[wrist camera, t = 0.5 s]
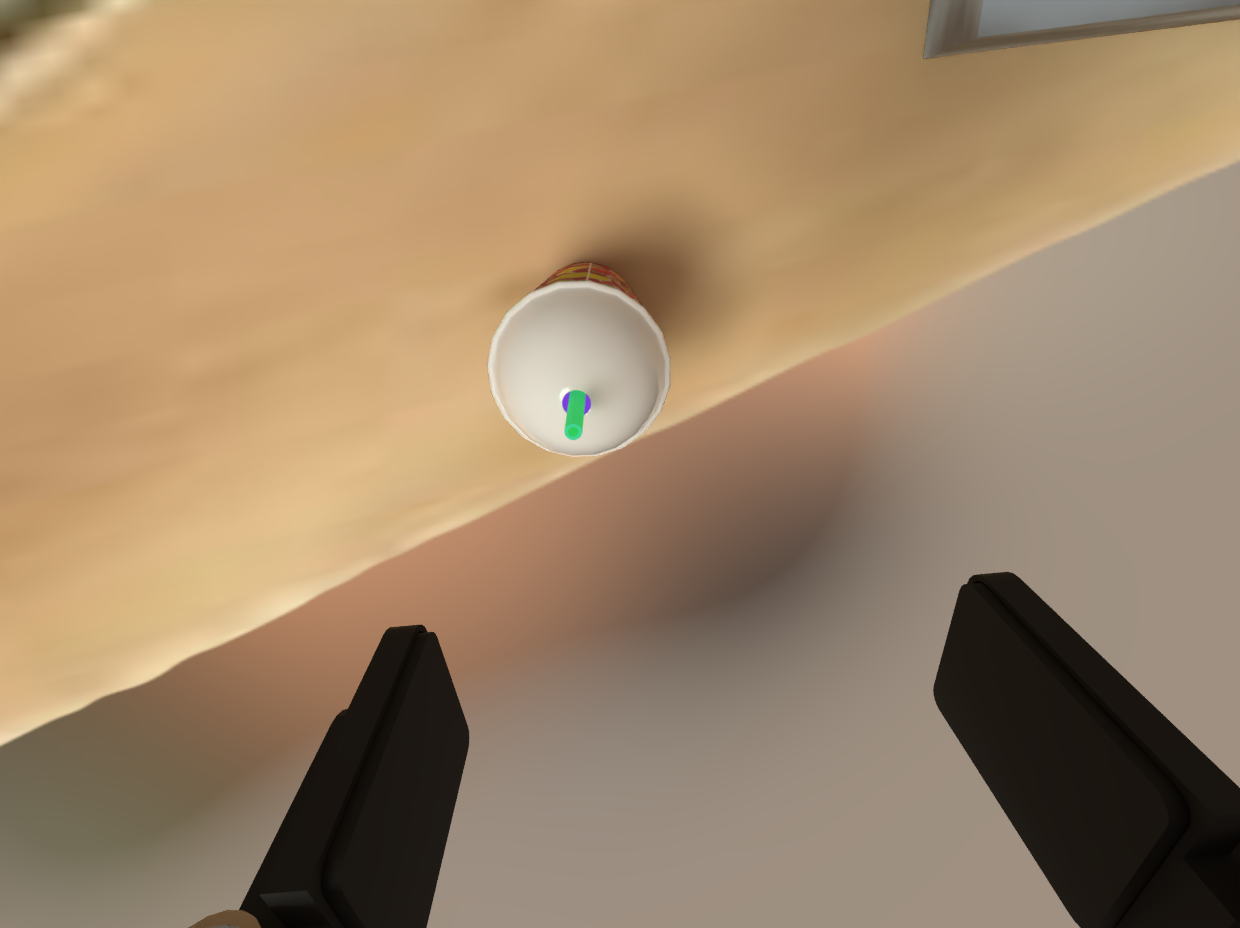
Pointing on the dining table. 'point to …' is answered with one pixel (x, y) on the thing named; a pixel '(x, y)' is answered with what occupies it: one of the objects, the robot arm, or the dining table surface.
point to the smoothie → (579, 364)
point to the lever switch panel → (1057, 21)
